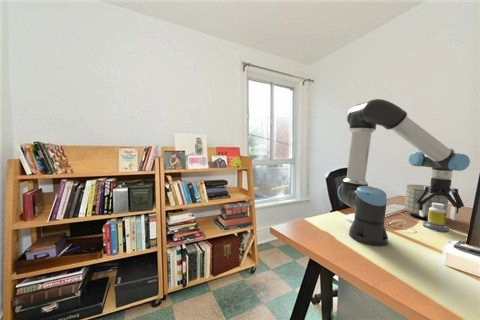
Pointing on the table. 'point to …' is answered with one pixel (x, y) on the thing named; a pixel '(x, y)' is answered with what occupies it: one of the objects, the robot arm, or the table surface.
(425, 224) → the coaster
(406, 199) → the planter
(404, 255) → the table surface
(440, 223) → the pill bottle
